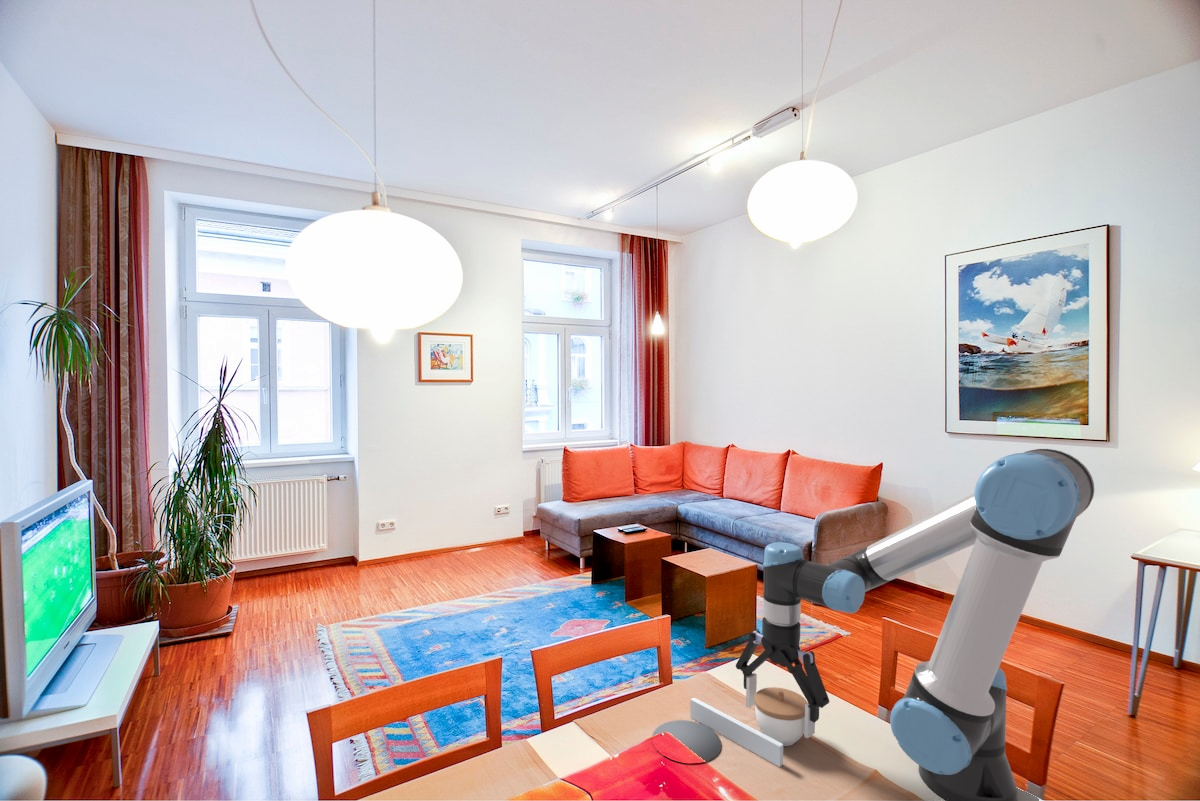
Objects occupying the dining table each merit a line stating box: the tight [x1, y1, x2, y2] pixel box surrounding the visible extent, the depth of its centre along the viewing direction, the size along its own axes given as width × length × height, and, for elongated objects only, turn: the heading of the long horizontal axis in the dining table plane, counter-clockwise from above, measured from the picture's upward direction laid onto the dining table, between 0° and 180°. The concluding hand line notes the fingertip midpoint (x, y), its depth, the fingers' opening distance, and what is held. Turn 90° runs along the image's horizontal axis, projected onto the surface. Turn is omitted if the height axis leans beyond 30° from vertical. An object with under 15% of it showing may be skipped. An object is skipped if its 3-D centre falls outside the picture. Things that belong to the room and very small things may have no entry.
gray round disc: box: [651, 719, 722, 763], centre depth 117 cm, size 14×14×1 cm
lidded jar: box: [754, 686, 808, 747], centre depth 118 cm, size 11×11×9 cm
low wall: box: [689, 697, 784, 768], centre depth 117 cm, size 22×1×4 cm, turn 41°
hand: (779, 719), depth 118 cm, fingers open, 13 cm apart
